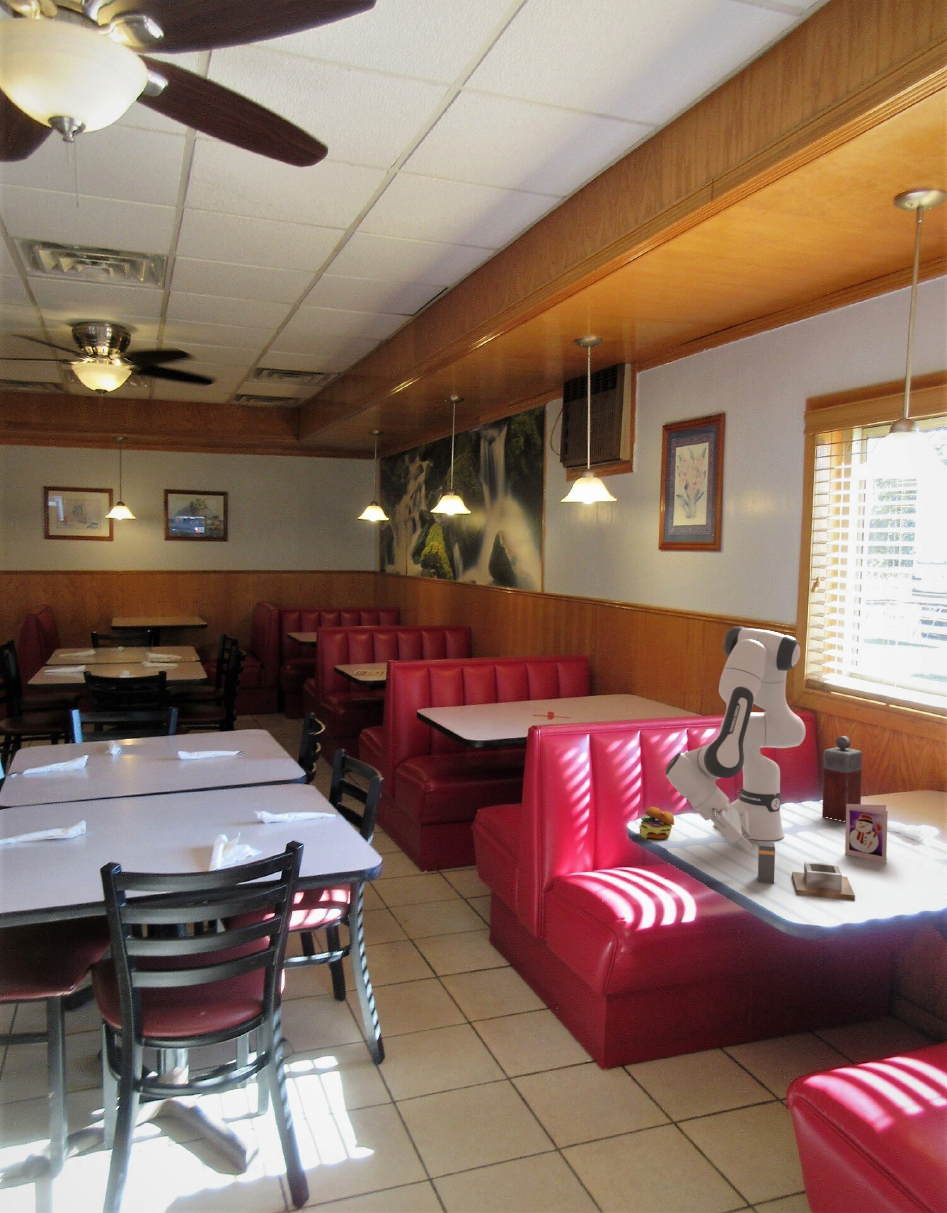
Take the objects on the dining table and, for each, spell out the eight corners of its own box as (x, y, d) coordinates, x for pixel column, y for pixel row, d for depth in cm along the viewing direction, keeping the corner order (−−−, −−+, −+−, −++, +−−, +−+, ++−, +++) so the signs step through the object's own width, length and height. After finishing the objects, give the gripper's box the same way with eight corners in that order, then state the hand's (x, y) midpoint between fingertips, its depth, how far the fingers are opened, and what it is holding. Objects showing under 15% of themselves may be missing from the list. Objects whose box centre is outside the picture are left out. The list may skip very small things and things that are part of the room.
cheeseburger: (630, 833, 277) (636, 802, 278) (654, 836, 282) (660, 806, 283) (652, 842, 268) (658, 809, 269) (677, 845, 274) (682, 813, 275)
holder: (796, 894, 227) (797, 874, 226) (792, 875, 240) (792, 857, 240) (854, 899, 223) (855, 879, 223) (846, 881, 236) (847, 862, 236)
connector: (758, 882, 235) (759, 845, 235) (757, 877, 239) (758, 841, 239) (774, 883, 234) (775, 847, 234) (773, 878, 238) (774, 842, 238)
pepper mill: (864, 817, 297) (866, 736, 296) (846, 823, 291) (848, 739, 290) (839, 811, 305) (841, 732, 303) (821, 816, 298) (823, 735, 297)
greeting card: (844, 854, 259) (845, 804, 258) (851, 848, 264) (852, 799, 264) (885, 862, 251) (886, 811, 251) (892, 856, 257) (893, 806, 256)
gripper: (721, 807, 229) (760, 847, 227) (721, 788, 248) (756, 825, 246) (703, 822, 230) (741, 862, 228) (704, 802, 250) (739, 839, 248)
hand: (749, 843), depth 237 cm, fingers open, 8 cm apart
